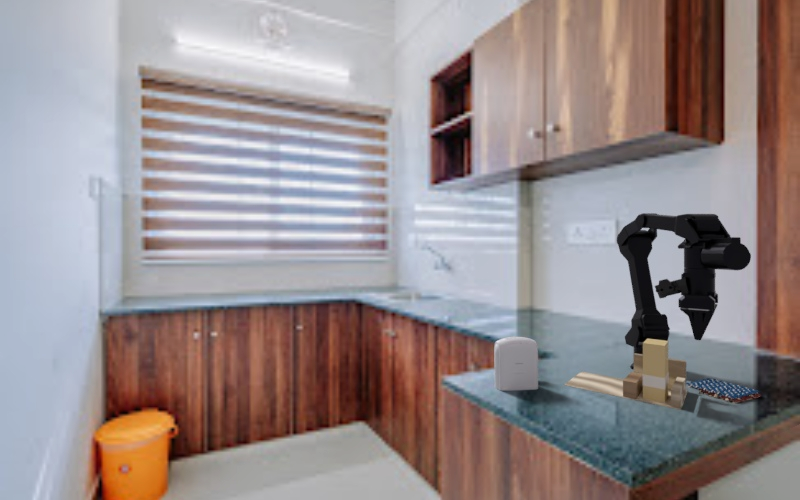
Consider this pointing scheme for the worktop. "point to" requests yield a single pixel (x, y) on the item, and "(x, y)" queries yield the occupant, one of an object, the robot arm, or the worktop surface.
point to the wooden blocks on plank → (636, 383)
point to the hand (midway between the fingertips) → (699, 336)
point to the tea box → (655, 370)
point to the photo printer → (516, 364)
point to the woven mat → (724, 390)
